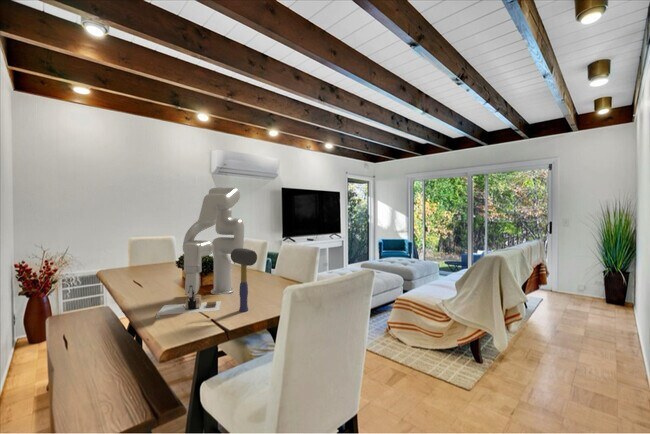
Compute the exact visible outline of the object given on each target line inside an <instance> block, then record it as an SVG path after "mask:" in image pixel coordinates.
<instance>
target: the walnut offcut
mask: <svg viewBox="0 0 650 434" xmlns="http://www.w3.org/2000/svg"><path fill="white" fill-rule="evenodd" d="M206 302H207V301H206ZM216 302H217V301H208V302H207V304H206V308H211V307H216Z"/></svg>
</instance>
